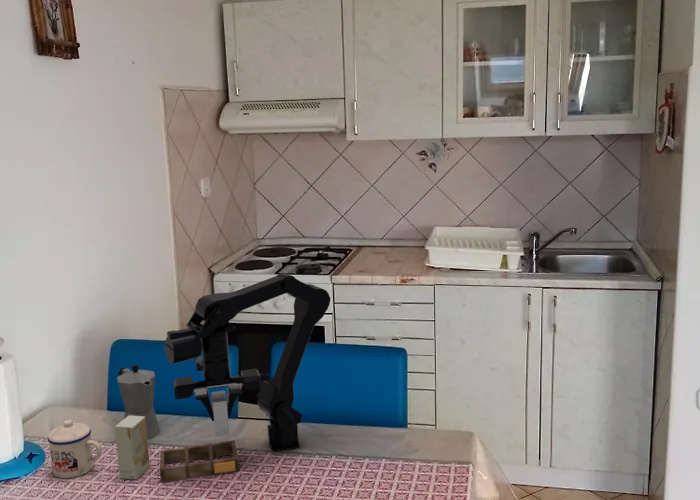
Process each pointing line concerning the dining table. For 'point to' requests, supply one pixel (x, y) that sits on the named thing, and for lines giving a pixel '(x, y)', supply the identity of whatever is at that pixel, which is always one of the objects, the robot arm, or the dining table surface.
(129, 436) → the skincare box
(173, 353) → the robot arm
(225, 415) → the grey metallic rectangular block
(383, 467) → the dining table surface
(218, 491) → the dining table surface
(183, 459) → the rack
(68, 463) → the teacup with lid
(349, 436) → the dining table surface
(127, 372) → the coffeepot
